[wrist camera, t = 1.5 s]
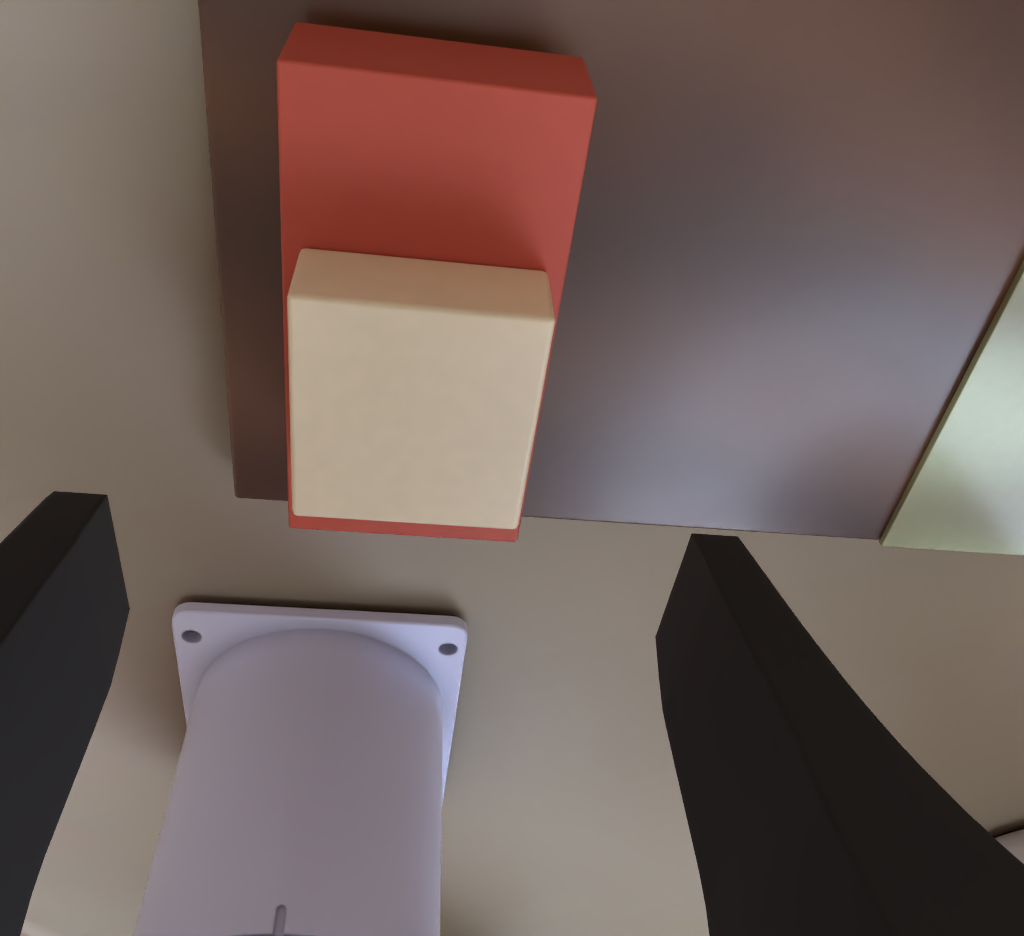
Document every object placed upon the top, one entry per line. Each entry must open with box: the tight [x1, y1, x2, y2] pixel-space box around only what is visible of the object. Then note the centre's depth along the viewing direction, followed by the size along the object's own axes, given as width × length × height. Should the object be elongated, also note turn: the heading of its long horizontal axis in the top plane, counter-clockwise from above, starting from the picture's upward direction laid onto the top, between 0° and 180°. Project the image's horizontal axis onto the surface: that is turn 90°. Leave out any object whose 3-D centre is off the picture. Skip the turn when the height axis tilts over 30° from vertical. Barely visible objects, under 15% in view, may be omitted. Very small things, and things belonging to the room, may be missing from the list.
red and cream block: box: [276, 22, 597, 542], centre depth 17 cm, size 9×5×5 cm, turn 173°
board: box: [198, 0, 1024, 556], centre depth 20 cm, size 13×22×1 cm, turn 83°
